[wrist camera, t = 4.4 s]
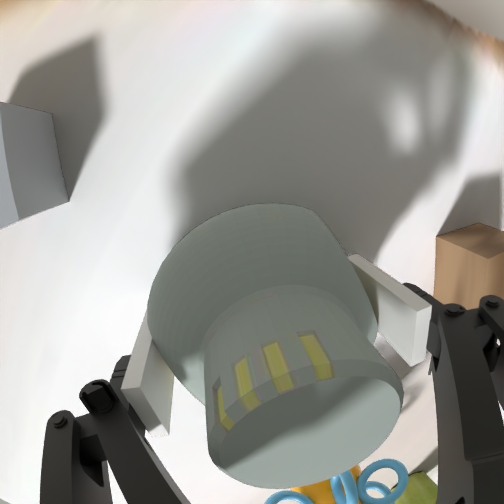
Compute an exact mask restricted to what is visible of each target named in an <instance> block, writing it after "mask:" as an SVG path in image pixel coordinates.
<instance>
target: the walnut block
mask: <svg viewBox="0 0 504 504" xmlns="http://www.w3.org/2000/svg"><path fill="white" fill-rule="evenodd" d="M486 295H496V296H498V297H500V298H502V299H503V300H504V231H501V230H498V229H495V228H492V227H489V226H487V225H484V224H481V223H477V224H474V225H471V226H467V227H464V228H461V229H458V230H455V231H452V232H449V233H445V234H442V235H439V236H436V260H435V281H434V295H433V297H434V298H435V299H437V300H438V301H439V302H441V303H442V304H449V303H455V304H459V305H461V306H463V307H465V309H466V310H470V309H474V308H478V307H479V301H480V299H481V298H482V297H483V296H486Z"/></svg>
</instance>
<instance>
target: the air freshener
mask: <svg viewBox="0 0 504 504" xmlns="http://www.w3.org/2000/svg"><path fill="white" fill-rule="evenodd" d="M147 324H148V328H149V331H150V334H151V336H152V339H153V341H154V343H155V345H156V347H157V349H158V351H159V353H160V354H161V356H162V358H163V359H164V361H165V362H166V364H167V365H168V367H169V368H170V370H171V371H172V372H173V374H174V375H175V376H176V377H177V379H178V380H179V381H180V382H181V383H182V385H183V386H184V387H185V388H186V389H187V390H188V391H189V392H190V393H191V394H192V395H193V396H194V397H195V398H196V399H197V400H199V401H200V402H201V403H202V404H203V405H205V408H206V426H207V441H208V450H209V455H210V457H211V459H212V461H213V463H214V464H215V465H216V466H217V467H218V468H219V469H220V470H221V471H223V472H224V473H225V474H227V475H228V476H230V477H232V478H234V479H235V480H238V481H240V482H242V483H244V484H247V485H251V486H254V487H260V488H268V489H286V488H295V487H302V486H306V485H311V484H315V483H318V482H321V481H324V480H327V479H330V478H332V477H335V476H337V475H339V474H341V473H343V472H345V471H347V470H349V469H351V468H352V467H354V466H356V465H357V464H359V463H360V462H362V461H363V460H364V459H366V458H367V457H368V456H370V455H371V454H372V453H373V452H374V451H375V450H376V449H378V448H379V447H380V446H381V444H382V443H383V442H384V441H385V440H386V439H387V437H388V436H389V435H390V433H391V432H392V430H393V428H394V426H395V424H396V422H397V420H398V417H399V414H400V411H401V408H402V404H403V395H404V392H403V387H402V383H401V381H400V379H399V377H398V376H397V374H396V373H395V372H394V371H393V369H392V368H391V367H390V366H389V364H388V363H387V362H386V361H385V360H384V358H383V357H382V356H381V355H380V353H379V352H378V351H377V350H376V349H375V347H374V346H373V344H374V342H375V339H376V336H377V332H378V326H377V321H376V317H375V314H374V311H373V308H372V306H371V303H370V301H369V298H368V296H367V294H366V292H365V289H364V287H363V285H362V283H361V281H360V279H359V277H358V275H357V273H356V271H355V269H354V267H353V266H352V264H351V262H350V260H349V259H348V257H347V255H346V254H345V252H344V250H343V249H342V247H341V246H340V244H339V242H338V241H337V239H336V238H335V237H334V235H333V234H332V232H331V231H330V229H329V228H328V227H327V225H326V224H325V223H324V222H323V220H322V219H321V218H320V217H319V216H318V215H317V214H316V213H315V212H314V211H312V210H310V209H307V208H304V207H300V206H297V205H289V204H280V203H264V204H251V205H247V206H243V207H239V208H234V209H230V210H228V211H226V212H223V213H221V214H219V215H216V216H214V217H212V218H210V219H208V220H207V221H205V222H203V223H202V224H200V225H199V226H197V227H196V228H194V229H193V230H191V231H190V232H189V233H188V234H187V235H186V236H185V237H184V238H183V239H182V240H181V241H180V242H178V243H177V244H176V245H175V246H174V248H173V249H172V250H171V252H170V253H169V254H168V256H167V257H166V259H165V260H164V261H163V263H162V265H161V267H160V269H159V271H158V273H157V275H156V277H155V279H154V281H153V284H152V288H151V291H150V295H149V299H148V306H147Z"/></svg>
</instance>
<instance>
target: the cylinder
mask: <svg viewBox="0 0 504 504" xmlns="http://www.w3.org/2000/svg"><path fill="white" fill-rule="evenodd" d="M381 468H391V469H393V470H395V471H396V473H397V474H398V484H397V486H396V488H395V490H394V491H393V492H392V491H391V490H390V489H389V488H388V487H387V486H385V485H384V484H382V483H379V482H375V481H368V482H367V479H368V478H369V476H370V475H371V474H372V473H373V472H375V471H376V470H378V469H381ZM407 484H408V472H407V469H406V467H405V466H404V465H403V464H402V463H401V462H399V461H397V460H394V459H382V460H378V461H376V462H374V463H372V464H370V465H369V466H367V467H366V468H365V469H364V470H363V471H362V473H361V469H360V466H359V464H357V465H356V466H354V467H352V468H351V469H349V470H347V471H345V472H343V473H341V474H339V475H337V476H335V477H332V478H330V479H327V480H324V481H321V482H318V483H315V484H311V485H306V486H302V487H295V488H290V489H291V491H280V492H277V493H275V494H273V495H271V496H270V497H269V498H268V499H267V500H266V502H265V504H277V503H278V502H279V501H281V500H285V499H291V500H295V501H297V502H299V503H300V504H395V501H396V500H397V499H398V498H399V497H400V496H401V495H402V494H403V492H404V491H405V489H406V487H407ZM366 489H375V490H377V491H379V492H381V493H382V494H383V495H384V497H383V498H372V497H370V496H369V495H368V494H367V492H366Z"/></svg>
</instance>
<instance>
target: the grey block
mask: <svg viewBox="0 0 504 504" xmlns="http://www.w3.org/2000/svg"><path fill="white" fill-rule="evenodd" d="M67 202H69V199H68V195H67V191H66V187H65V182H64V178H63V173H62V169H61V164H60V159H59V154H58V148H57V143H56V137H55V131H54V124H53V117H52V114H51V113H47V112H43V111H39V110H35V109H31V108H27V107H22V106H18V105H13V104H9V103H4V102H0V230H1V229H3V228H5V227H8V226H10V225H12V224H15V223H17V222H19V221H22V220H24V219H26V218H29V217H31V216H33V215H36V214H38V213H41V212H43V211H46V210H48V209H51V208H54V207H56V206H59V205H61V204H64V203H67Z"/></svg>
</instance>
